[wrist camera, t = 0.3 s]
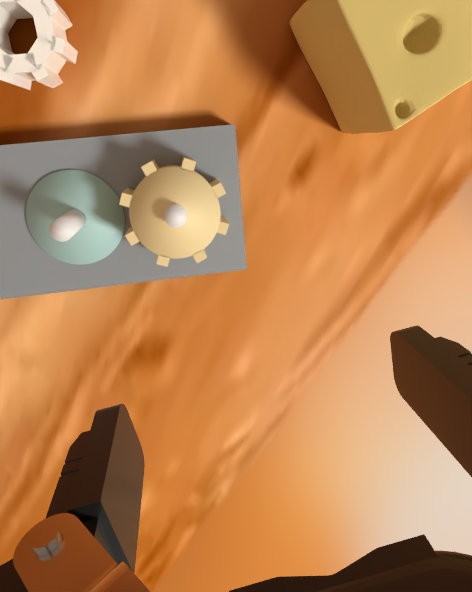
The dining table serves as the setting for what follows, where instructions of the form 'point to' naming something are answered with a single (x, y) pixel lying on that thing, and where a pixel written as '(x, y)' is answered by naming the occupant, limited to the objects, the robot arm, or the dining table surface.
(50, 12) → the nylon gear
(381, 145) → the dining table surface
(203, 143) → the gear board
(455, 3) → the cheese
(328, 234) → the dining table surface
